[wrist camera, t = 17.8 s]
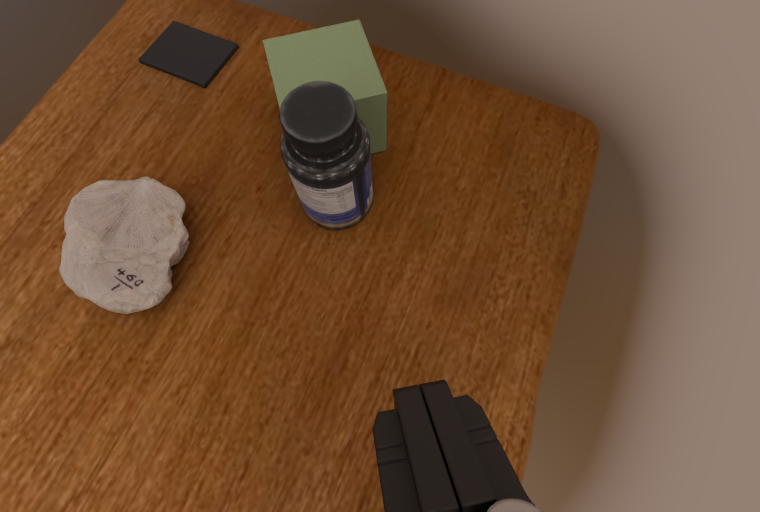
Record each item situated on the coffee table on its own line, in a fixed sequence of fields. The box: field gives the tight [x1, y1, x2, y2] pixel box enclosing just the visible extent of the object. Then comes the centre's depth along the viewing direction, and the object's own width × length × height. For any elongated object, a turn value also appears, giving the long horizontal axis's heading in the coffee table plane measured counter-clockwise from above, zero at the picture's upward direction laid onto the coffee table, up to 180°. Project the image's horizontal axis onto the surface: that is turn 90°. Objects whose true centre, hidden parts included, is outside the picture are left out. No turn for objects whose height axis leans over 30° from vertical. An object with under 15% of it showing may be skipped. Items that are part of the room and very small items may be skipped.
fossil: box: [59, 177, 190, 314], centre depth 30 cm, size 9×6×10 cm
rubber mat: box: [138, 21, 238, 88], centre depth 40 cm, size 8×6×1 cm
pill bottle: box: [279, 81, 373, 230], centre depth 29 cm, size 6×6×11 cm
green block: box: [263, 20, 387, 154], centre depth 33 cm, size 8×8×7 cm
